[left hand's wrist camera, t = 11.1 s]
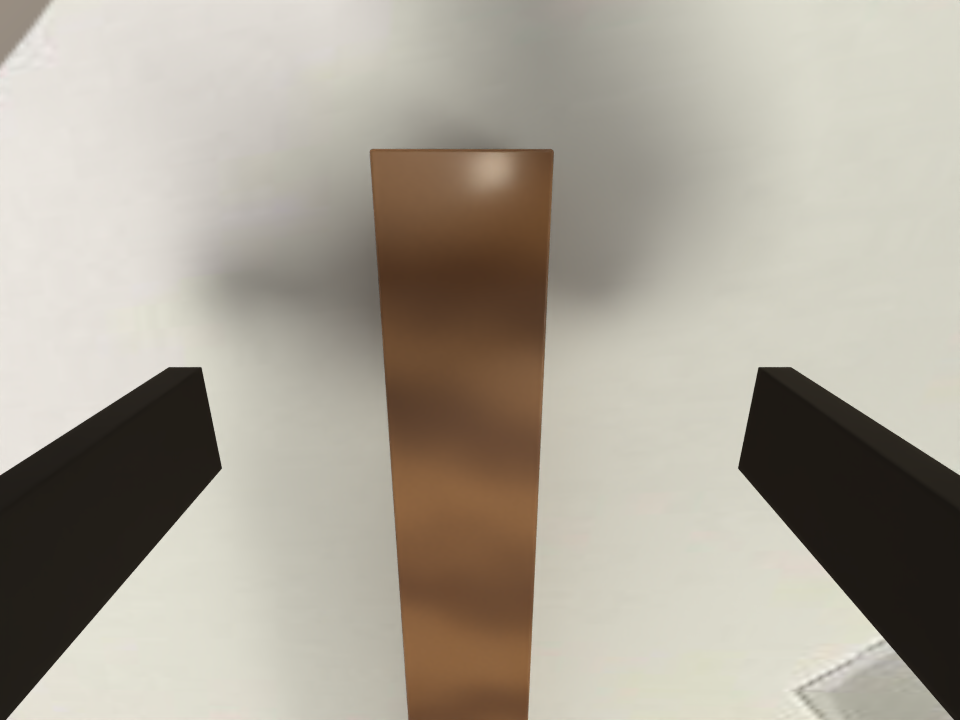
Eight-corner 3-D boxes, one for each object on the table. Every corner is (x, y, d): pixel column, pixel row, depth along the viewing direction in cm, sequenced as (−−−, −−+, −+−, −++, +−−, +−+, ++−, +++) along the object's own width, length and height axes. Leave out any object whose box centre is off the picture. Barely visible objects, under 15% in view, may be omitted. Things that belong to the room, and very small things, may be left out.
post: (400, 156, 23) (369, 149, 16) (525, 156, 23) (554, 148, 16) (437, 902, 43) (431, 1058, 35) (504, 900, 43) (512, 1055, 35)
